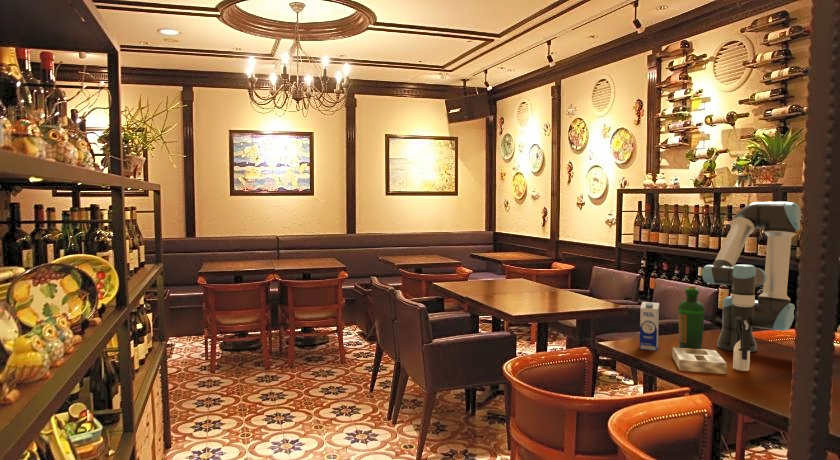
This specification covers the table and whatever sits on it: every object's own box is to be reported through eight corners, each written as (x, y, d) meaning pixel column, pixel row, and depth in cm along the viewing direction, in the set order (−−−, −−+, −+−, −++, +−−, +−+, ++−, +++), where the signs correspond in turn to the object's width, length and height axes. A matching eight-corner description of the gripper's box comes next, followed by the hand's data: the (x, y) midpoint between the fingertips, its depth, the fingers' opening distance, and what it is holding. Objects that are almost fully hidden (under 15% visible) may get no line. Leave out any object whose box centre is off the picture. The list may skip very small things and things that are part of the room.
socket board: (715, 360, 240) (715, 350, 240) (726, 374, 220) (726, 363, 220) (672, 356, 244) (672, 347, 244) (679, 370, 224) (679, 359, 224)
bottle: (682, 346, 263) (684, 283, 262) (707, 350, 256) (709, 285, 255) (672, 350, 256) (674, 285, 255) (698, 354, 248) (700, 288, 247)
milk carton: (658, 347, 260) (659, 302, 259) (656, 351, 254) (657, 304, 253) (641, 345, 263) (642, 301, 262) (639, 349, 257) (640, 303, 256)
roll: (730, 336, 229) (743, 335, 230) (729, 367, 229) (742, 366, 230) (741, 339, 223) (754, 339, 224) (740, 371, 223) (753, 370, 224)
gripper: (726, 300, 236) (725, 358, 237) (738, 308, 218) (736, 371, 219) (747, 301, 234) (746, 360, 235) (760, 309, 216) (758, 372, 217)
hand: (741, 365), depth 227 cm, fingers closed on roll, 6 cm apart
